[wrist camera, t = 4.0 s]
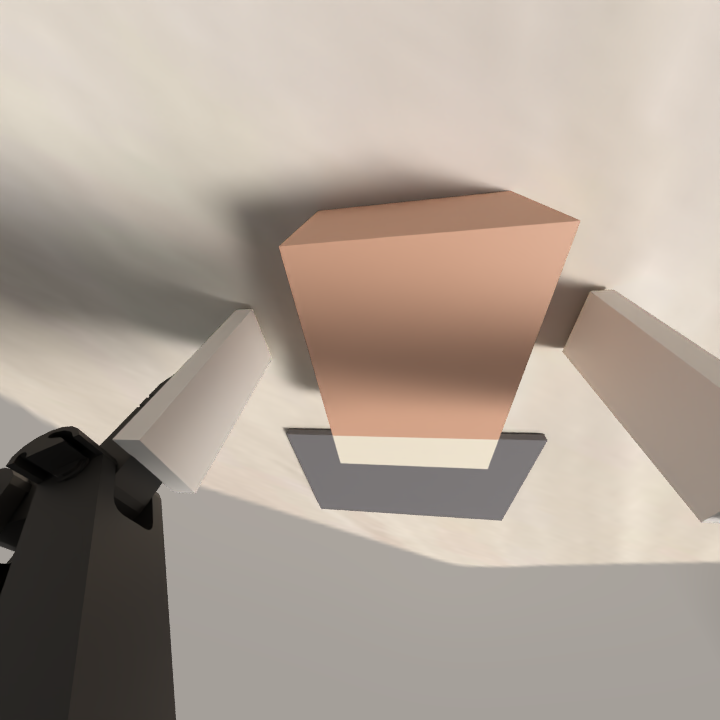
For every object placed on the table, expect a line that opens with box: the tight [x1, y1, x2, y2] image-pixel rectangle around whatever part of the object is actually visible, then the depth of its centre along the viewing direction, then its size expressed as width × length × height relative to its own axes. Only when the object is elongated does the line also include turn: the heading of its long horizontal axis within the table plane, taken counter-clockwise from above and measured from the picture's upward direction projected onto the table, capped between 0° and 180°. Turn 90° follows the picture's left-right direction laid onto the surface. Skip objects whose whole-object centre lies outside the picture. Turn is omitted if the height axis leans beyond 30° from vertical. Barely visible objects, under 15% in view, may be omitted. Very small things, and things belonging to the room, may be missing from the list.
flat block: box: [279, 191, 580, 469], centre depth 10 cm, size 9×6×4 cm, turn 6°
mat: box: [287, 429, 547, 521], centre depth 19 cm, size 11×15×1 cm
